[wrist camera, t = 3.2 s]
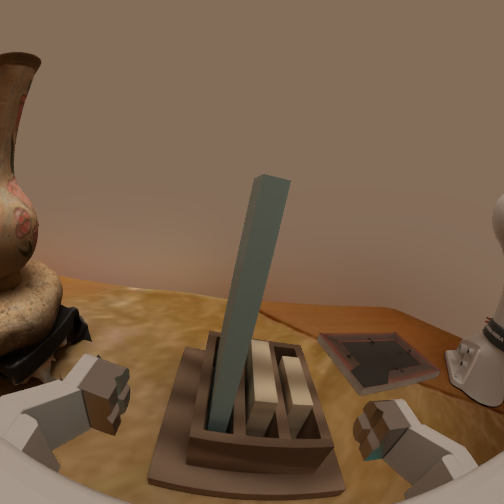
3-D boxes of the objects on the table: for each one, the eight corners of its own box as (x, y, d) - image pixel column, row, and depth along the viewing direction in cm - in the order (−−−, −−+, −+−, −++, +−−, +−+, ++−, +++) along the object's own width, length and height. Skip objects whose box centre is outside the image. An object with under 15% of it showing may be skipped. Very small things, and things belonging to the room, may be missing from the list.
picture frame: (357, 398, 34) (435, 379, 40) (364, 386, 34) (441, 369, 40) (315, 342, 50) (391, 340, 56) (319, 332, 49) (395, 331, 55)
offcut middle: (239, 383, 31) (251, 339, 30) (254, 385, 32) (268, 341, 30) (239, 444, 22) (255, 400, 20) (258, 446, 22) (278, 403, 20)
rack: (184, 354, 37) (189, 316, 35) (303, 373, 38) (316, 338, 37) (148, 483, 16) (144, 450, 14) (339, 495, 17) (371, 463, 16)
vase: (-32, 312, 24) (-22, 86, 16) (75, 304, 40) (99, 97, 32) (-41, 423, 9) (-60, 24, 1) (124, 398, 25) (168, 52, 17)
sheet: (212, 374, 32) (254, 178, 27) (225, 376, 32) (269, 182, 27) (203, 447, 20) (263, 174, 15) (220, 450, 21) (290, 180, 15)
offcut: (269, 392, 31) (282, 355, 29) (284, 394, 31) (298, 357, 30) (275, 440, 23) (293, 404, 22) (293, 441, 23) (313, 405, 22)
